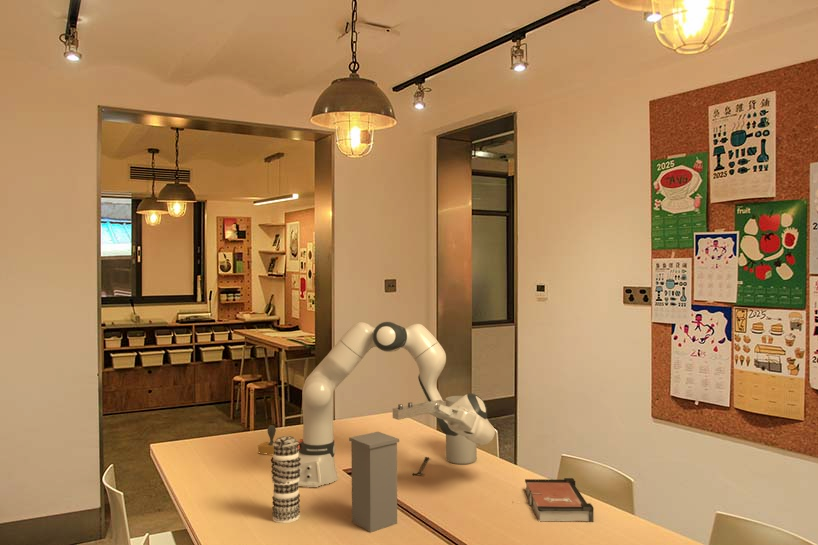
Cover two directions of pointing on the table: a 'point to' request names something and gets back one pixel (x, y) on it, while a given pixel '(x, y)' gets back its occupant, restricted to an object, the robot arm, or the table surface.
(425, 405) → the brown wooden bar
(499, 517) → the table surface
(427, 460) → the tomahawk
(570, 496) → the book
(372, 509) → the pedestal
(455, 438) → the cylinder vase
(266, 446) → the rubber stamp
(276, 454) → the decorative candle
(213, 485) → the table surface
